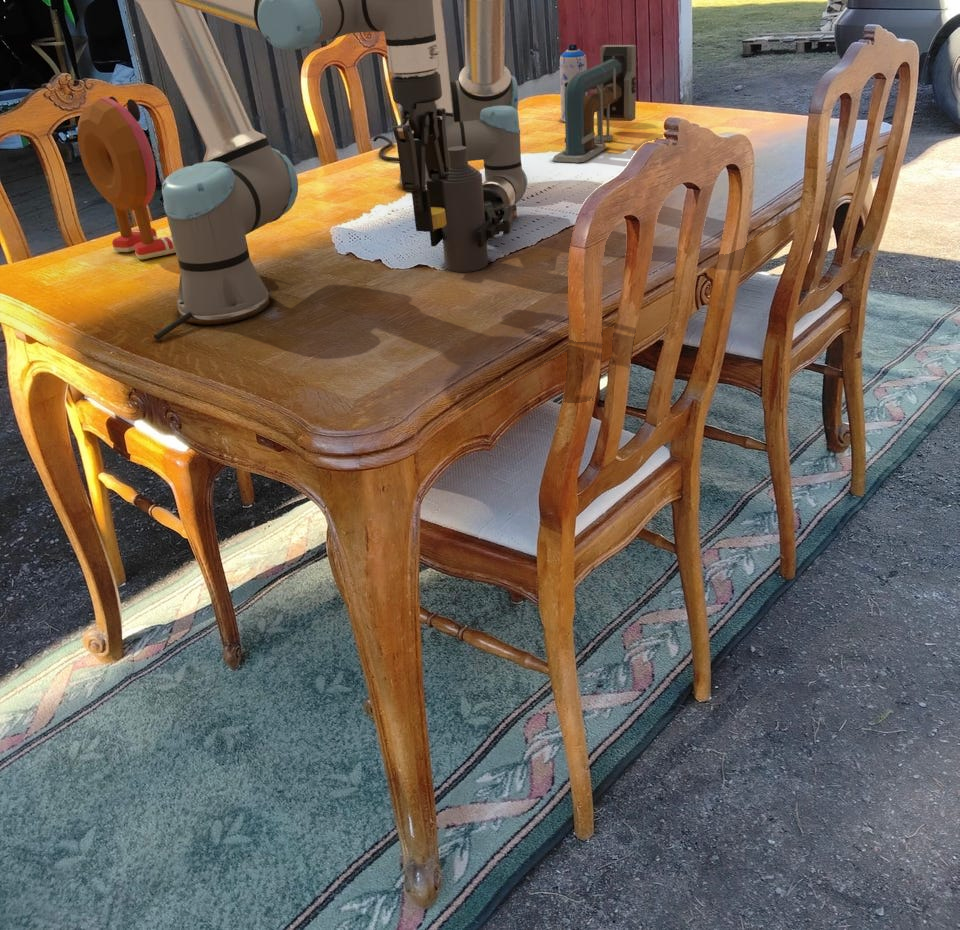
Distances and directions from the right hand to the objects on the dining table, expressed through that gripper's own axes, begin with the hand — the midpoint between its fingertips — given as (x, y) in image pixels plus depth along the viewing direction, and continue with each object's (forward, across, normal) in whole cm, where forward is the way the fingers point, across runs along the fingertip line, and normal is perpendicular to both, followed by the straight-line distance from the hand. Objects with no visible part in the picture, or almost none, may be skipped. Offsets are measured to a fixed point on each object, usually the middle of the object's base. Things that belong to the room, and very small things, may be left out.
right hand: (455, 239), depth 170 cm
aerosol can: (-127, +5, -6) cm, 128 cm away
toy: (-8, +70, -6) cm, 71 cm away
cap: (+12, 0, +8) cm, 14 cm away
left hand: (+12, 0, +6) cm, 13 cm away
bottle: (-5, 0, -6) cm, 8 cm away
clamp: (-96, -6, -6) cm, 96 cm away
